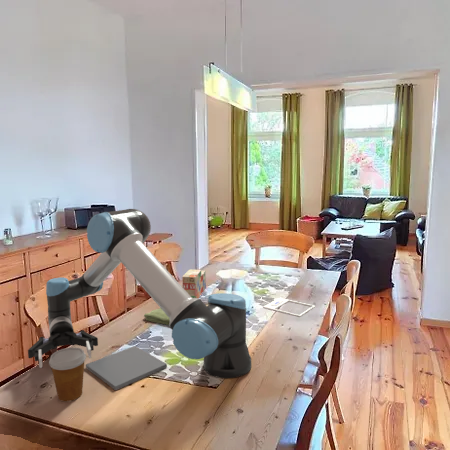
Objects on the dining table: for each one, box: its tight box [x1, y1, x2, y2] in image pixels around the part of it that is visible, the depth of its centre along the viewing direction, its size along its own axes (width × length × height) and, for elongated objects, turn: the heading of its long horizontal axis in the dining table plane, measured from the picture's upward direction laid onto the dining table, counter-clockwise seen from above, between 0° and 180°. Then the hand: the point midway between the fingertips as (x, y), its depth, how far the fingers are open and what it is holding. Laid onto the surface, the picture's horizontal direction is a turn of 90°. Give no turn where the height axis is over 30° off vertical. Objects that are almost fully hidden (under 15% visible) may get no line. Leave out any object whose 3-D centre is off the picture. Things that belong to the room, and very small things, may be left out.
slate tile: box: [85, 345, 168, 391], centre depth 127 cm, size 18×18×1 cm
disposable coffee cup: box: [48, 347, 87, 402], centre depth 112 cm, size 10×10×12 cm
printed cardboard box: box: [181, 269, 207, 298], centre depth 196 cm, size 21×6×12 cm, turn 170°
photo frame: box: [262, 297, 316, 317], centre depth 179 cm, size 15×1×18 cm
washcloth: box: [143, 307, 170, 326], centre depth 167 cm, size 13×18×3 cm
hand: (65, 358), depth 119 cm, fingers open, 13 cm apart
